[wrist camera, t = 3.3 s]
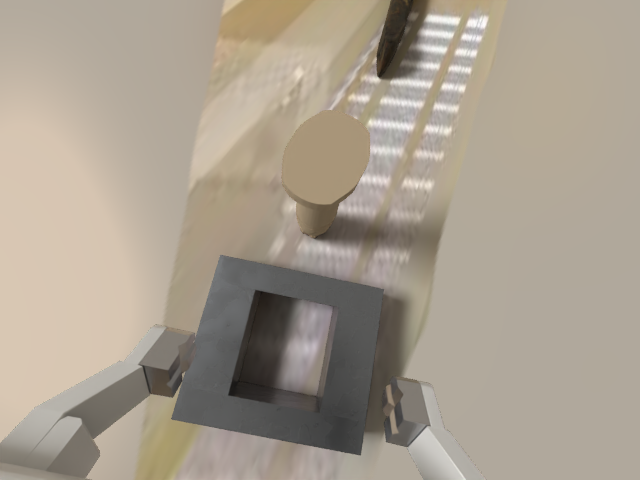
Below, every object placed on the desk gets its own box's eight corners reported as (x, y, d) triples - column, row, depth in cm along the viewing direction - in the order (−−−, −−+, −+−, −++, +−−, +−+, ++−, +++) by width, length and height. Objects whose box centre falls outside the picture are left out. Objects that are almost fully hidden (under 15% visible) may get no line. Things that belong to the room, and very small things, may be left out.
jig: (351, 432, 26) (360, 455, 22) (190, 401, 25) (171, 419, 21) (372, 290, 29) (383, 289, 25) (231, 261, 29) (220, 254, 25)
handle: (343, 212, 31) (384, 133, 16) (318, 259, 29) (338, 218, 15) (308, 193, 31) (316, 98, 17) (281, 239, 30) (264, 179, 15)
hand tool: (393, -19, 41) (405, -59, 36) (418, -11, 41) (432, -50, 36) (358, 74, 36) (366, 41, 32) (385, 83, 36) (398, 52, 32)
